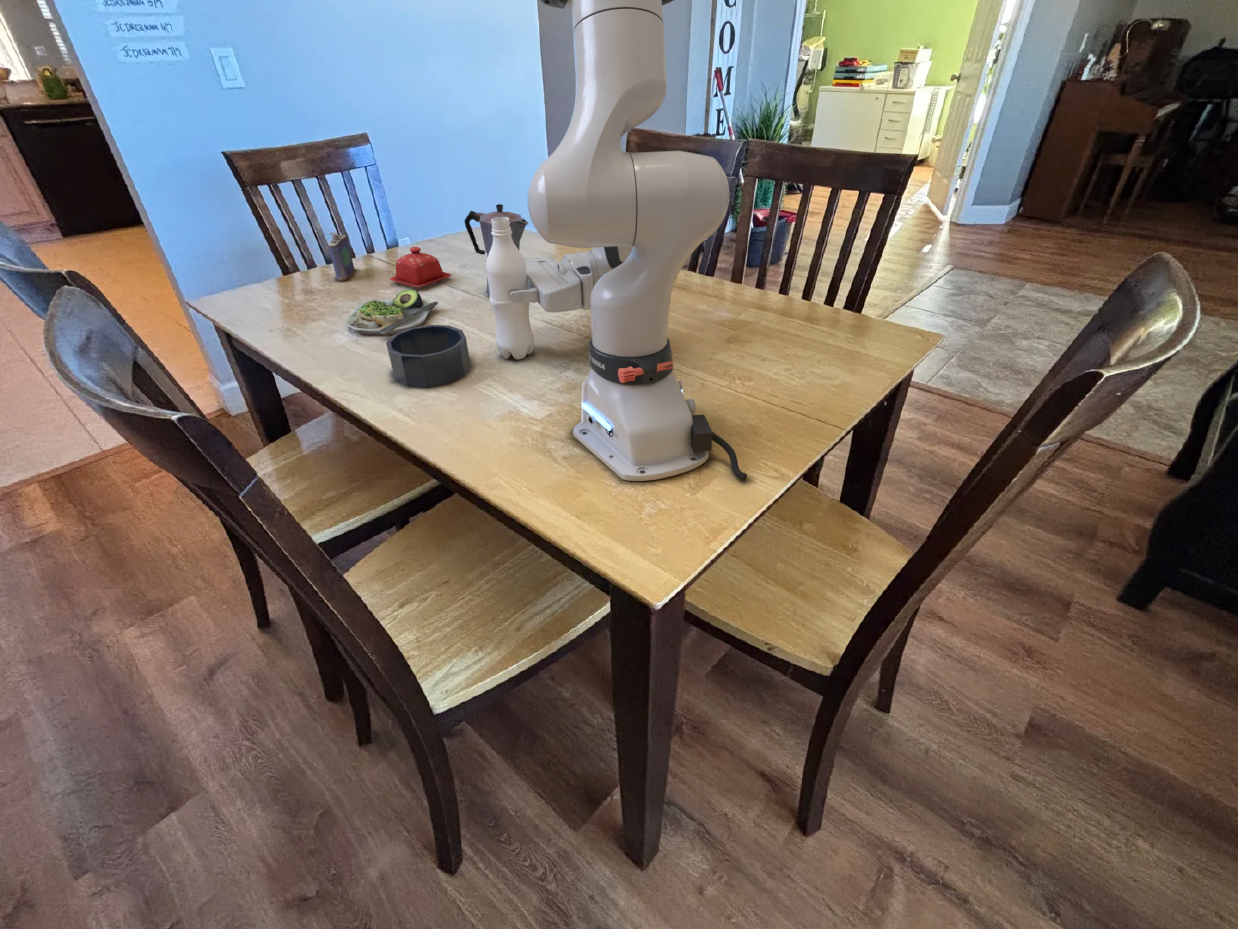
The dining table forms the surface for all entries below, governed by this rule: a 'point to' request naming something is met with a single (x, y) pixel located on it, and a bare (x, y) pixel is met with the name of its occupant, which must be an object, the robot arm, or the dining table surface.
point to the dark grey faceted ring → (429, 355)
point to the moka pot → (486, 227)
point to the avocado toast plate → (390, 314)
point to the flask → (341, 256)
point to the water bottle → (502, 277)
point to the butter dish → (418, 269)
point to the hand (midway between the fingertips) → (504, 288)
